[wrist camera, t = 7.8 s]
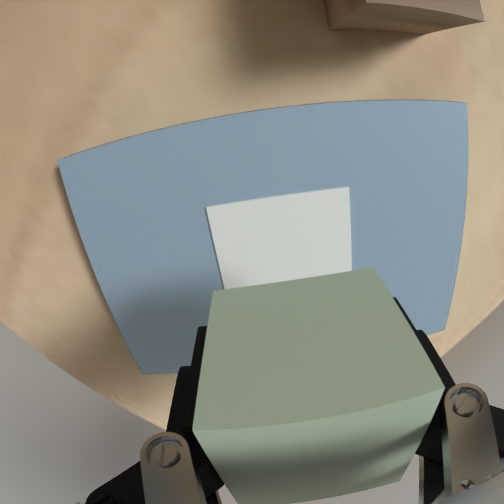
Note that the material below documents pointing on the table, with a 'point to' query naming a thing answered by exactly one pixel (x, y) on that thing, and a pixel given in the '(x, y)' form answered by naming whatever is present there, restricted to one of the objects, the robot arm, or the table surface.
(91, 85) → the table surface
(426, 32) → the walnut block
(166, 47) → the table surface
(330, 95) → the table surface
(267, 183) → the board
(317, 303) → the sage block
